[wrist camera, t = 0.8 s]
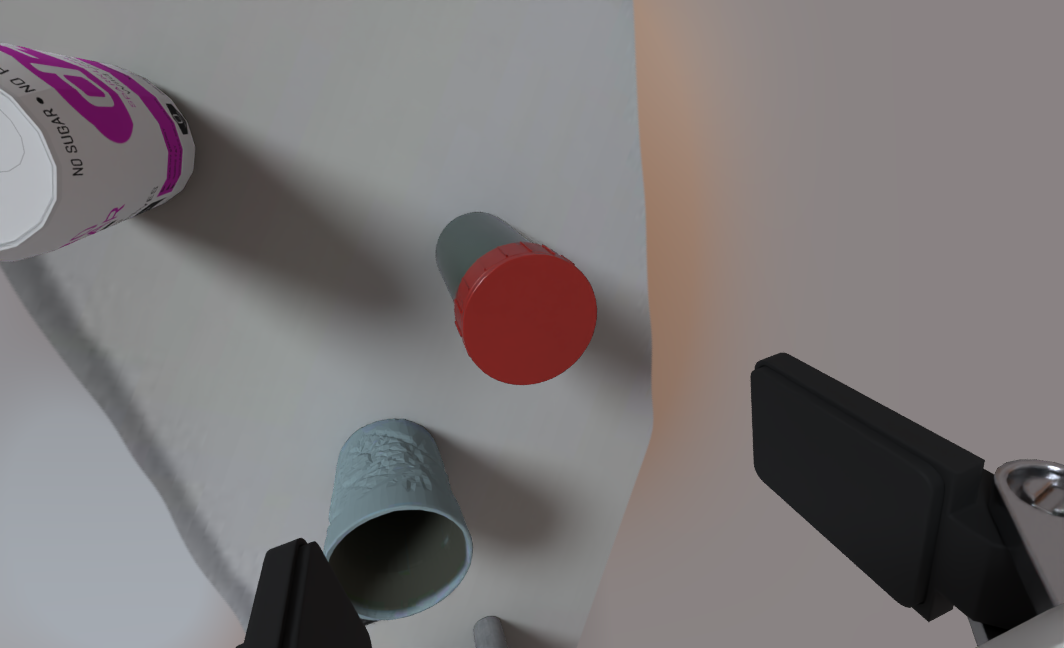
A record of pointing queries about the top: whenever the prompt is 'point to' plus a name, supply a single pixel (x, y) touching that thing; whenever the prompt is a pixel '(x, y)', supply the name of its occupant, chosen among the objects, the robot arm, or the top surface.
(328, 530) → the embossed blue cup
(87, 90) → the supplement can
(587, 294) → the lid
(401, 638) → the top surface
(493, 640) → the hip flask
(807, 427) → the robot arm
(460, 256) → the jar
